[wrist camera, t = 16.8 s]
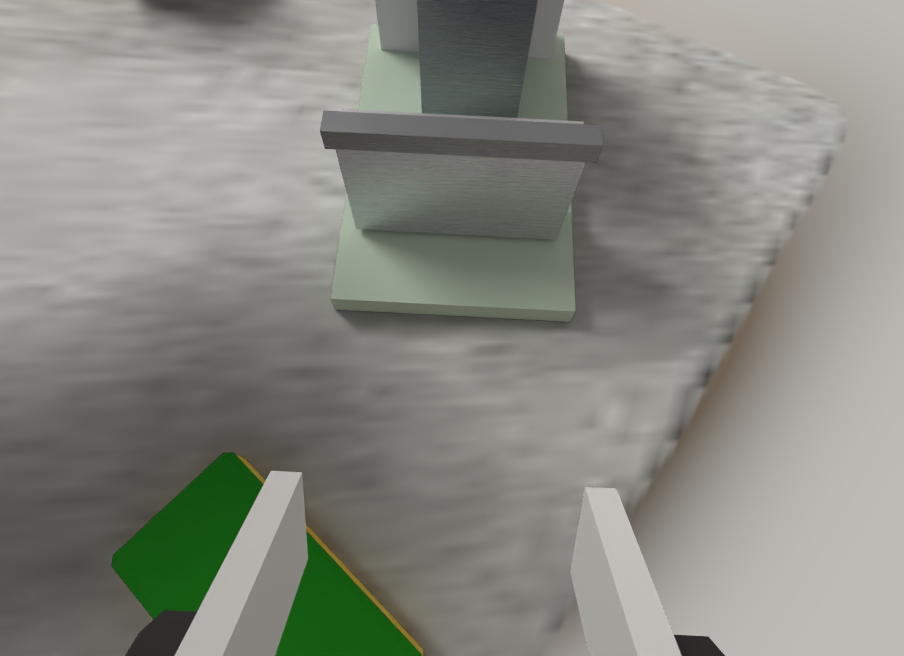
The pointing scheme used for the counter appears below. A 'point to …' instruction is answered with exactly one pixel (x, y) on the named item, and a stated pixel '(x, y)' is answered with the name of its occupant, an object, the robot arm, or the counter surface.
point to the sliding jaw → (459, 171)
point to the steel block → (474, 55)
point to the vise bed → (449, 255)
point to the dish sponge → (205, 548)
